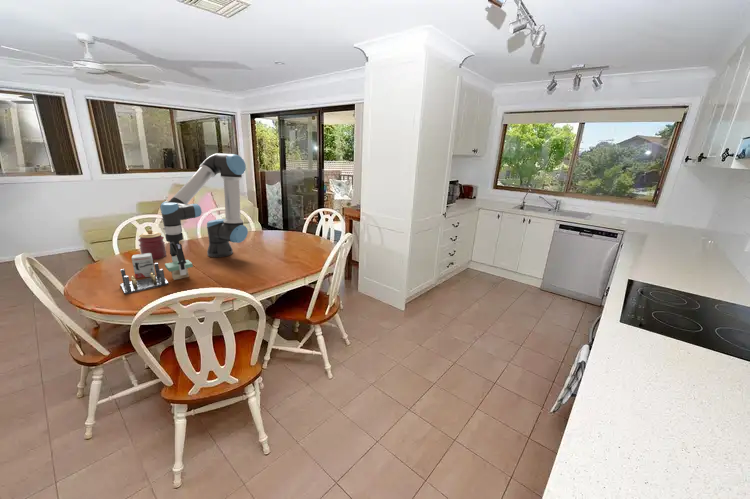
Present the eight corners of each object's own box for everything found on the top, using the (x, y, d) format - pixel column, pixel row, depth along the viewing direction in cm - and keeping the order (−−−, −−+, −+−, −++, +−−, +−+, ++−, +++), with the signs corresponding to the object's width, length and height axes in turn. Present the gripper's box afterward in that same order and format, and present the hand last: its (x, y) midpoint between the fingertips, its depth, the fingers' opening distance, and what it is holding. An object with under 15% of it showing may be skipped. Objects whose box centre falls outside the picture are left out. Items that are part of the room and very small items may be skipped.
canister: (143, 261, 187) (137, 233, 182) (140, 255, 196) (135, 228, 191) (168, 257, 195) (163, 230, 190) (164, 252, 204) (160, 226, 199)
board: (188, 262, 172) (187, 258, 171) (192, 266, 167) (192, 262, 166) (165, 267, 165) (164, 262, 164) (169, 271, 160) (168, 266, 159)
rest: (187, 274, 171) (185, 264, 169) (188, 276, 169) (187, 266, 167) (172, 278, 167) (170, 267, 165) (174, 279, 164) (172, 269, 162)
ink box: (135, 278, 164) (131, 257, 160) (136, 275, 167) (131, 254, 164) (155, 275, 168) (151, 255, 165) (155, 272, 172) (151, 252, 168)
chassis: (162, 276, 167) (160, 262, 165) (168, 284, 159) (166, 269, 156) (120, 285, 155) (117, 269, 152) (124, 294, 146) (121, 278, 144)
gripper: (159, 229, 166) (165, 265, 172) (171, 239, 149) (178, 280, 156) (175, 227, 171) (181, 263, 177) (189, 237, 154) (194, 276, 161)
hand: (179, 271), depth 167 cm, fingers open, 13 cm apart
